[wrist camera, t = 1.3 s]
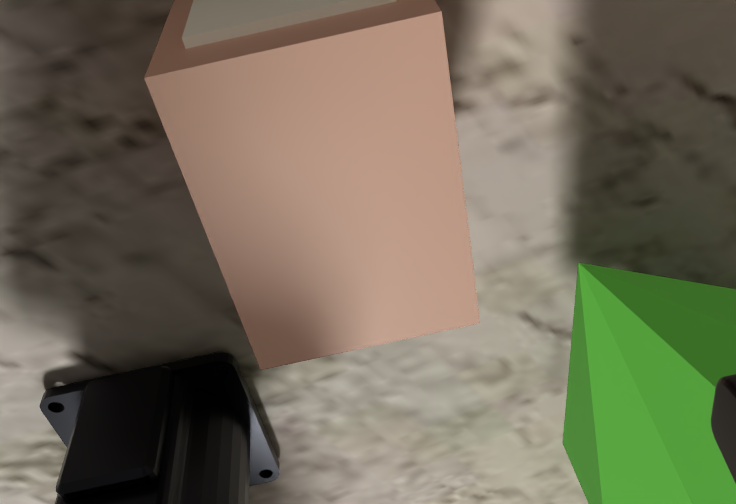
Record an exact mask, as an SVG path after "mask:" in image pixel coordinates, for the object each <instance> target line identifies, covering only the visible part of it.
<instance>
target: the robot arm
mask: <svg viewBox="0 0 736 504" xmlns="http://www.w3.org/2000/svg"><path fill="white" fill-rule="evenodd" d="M219 366H222V367H225V368H224V369H218V368H216V367H219ZM55 402H59V404H58V403H55ZM40 409H41V411H42V412H43V414H44V415H45V417H46V418H47V419H48V421H49V422H50V424H51V425H52V427H53V428H54V429H55V431H56V432H57V434H58V435H59V437H60V438H61V439H62V441H63V442H64V444H65V445H66V447H67V451H66V454H65V458H64V461H63V465H62V468H61V471H60V475H59V478H58V482H57V485H56V492H57V493H58V494H57V498H56V501H55V504H249V486H252V485H257V484H262V483H267V482H271V481H273V480H275V479H277V478H278V476H279V474H280V473H279V461H278V458H277V456H276V454H275V451H274V449H273V447H272V444H271V442H270V439H269V437H268V435H267V432H266V430H265V428H264V425H263V423H262V421H261V418H260V416H259V414H258V411H257V409H256V406H255V404H254V402H253V399H252V397H251V395H250V392H249V390H248V388H247V385H246V383H245V380H244V378H243V376H242V373H241V371H240V369H239V366H238V364H237V362H236V360H235V358H234V357H233V356H232V355H230V354H228V353H224V352H219V353H212V354H208V355H203V356H199V357H194V358H189V359H185V360H180V361H175V362H171V363H166V364H161V365H157V366H152V367H148V368H143V369H138V370H134V371H129V372H124V373H120V374H115V375H110V376H106V377H101V378H97V379H92V380H87V381H83V382H78V383H73V384H69V385H64V386H59V387H55V388H51V389H49V390H47V391H46V392H45V393H44V394H43V397H42V400H41V403H40ZM711 428H712V432H713V435H714V438H715V441H716V443H717V445H718V447H719V449H720V451H721V453H722V456H723V458H724V460H725V462H726V464H727V466H728V469H729V471H730V473H731V475H732V477H733V479H734V482H735V484H736V374H734V375H729V376H724V377H722V378H720V379H719V380H718V382H717V384H716V388H715V394H714V401H713V407H712V414H711Z"/></svg>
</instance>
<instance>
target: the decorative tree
mask: <svg viewBox="0 0 736 504" xmlns="http://www.w3.org/2000/svg"><path fill="white" fill-rule="evenodd" d="M734 374H736V289H731V288H725V287H719V286H714V285H708V284H702V283H696V282H690V281H684V280H678V279H673V278H667V277H661V276H655V275H649V274H643V273H637V272H631V271H626V270H620V269H614V268H608V267H602V266H596V265H590V264H585V263H579V262H578V272H577V283H576V295H575V306H574V318H573V330H572V341H571V353H570V364H569V376H568V387H567V399H566V411H565V422H564V434H563V445H564V447H565V450H566V452H567V454H568V457H569V459H570V461H571V464H572V466H573V468H574V471H575V473H576V475H577V478H578V480H579V482H580V485H581V487H582V489H583V492H584V494H585V496H586V499H587V501H588V503H589V504H736V484H735V482H734V479H733V477H732V475H731V473H730V471H729V469H728V466H727V464H726V462H725V460H724V458H723V456H722V453H721V451H720V449H719V447H718V445H717V443H716V441H715V438H714V435H713V432H712V428H711V414H712V407H713V401H714V394H715V388H716V384H717V382H718V380H719V379H720V378H722V377H724V376H729V375H734Z"/></svg>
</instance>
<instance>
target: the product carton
mask: <svg viewBox="0 0 736 504" xmlns="http://www.w3.org/2000/svg"><path fill="white" fill-rule="evenodd" d="M144 79H145V82H146V84H147V87H148V89H149V92H150V94H151V97H152V99H153V102H154V104H155V107H156V109H157V112H158V114H159V117H160V119H161V122H162V124H163V127H164V129H165V132H166V134H167V137H168V139H169V142H170V144H171V147H172V149H173V152H174V154H175V157H176V159H177V162H178V164H179V167H180V169H181V172H182V174H183V177H184V179H185V182H186V184H187V187H188V189H189V192H190V194H191V197H192V199H193V202H194V204H195V207H196V209H197V212H198V214H199V217H200V220H201V222H202V225H203V227H204V230H205V232H206V235H207V237H208V240H209V242H210V245H211V247H212V250H213V252H214V255H215V257H216V260H217V262H218V265H219V267H220V270H221V272H222V275H223V277H224V280H225V282H226V285H227V287H228V290H229V292H230V295H231V297H232V300H233V302H234V305H235V307H236V310H237V312H238V315H239V317H240V320H241V322H242V325H243V327H244V330H245V332H246V335H247V337H248V340H249V342H250V345H251V347H252V350H253V352H254V355H255V357H256V360H257V362H258V365H259V367H260V370H264V369H268V368H273V367H278V366H282V365H287V364H292V363H296V362H301V361H306V360H310V359H315V358H320V357H324V356H329V355H334V354H338V353H343V352H348V351H352V350H357V349H362V348H366V347H371V346H376V345H380V344H385V343H390V342H394V341H399V340H404V339H408V338H413V337H418V336H422V335H427V334H432V333H436V332H441V331H446V330H450V329H455V328H460V327H464V326H469V325H474V324H478V323H480V317H479V309H478V301H477V293H476V285H475V277H474V268H473V260H472V252H471V244H470V236H469V228H468V220H467V212H466V204H465V196H464V188H463V180H462V171H461V163H460V155H459V147H458V139H457V131H456V123H455V115H454V107H453V99H452V91H451V82H450V74H449V66H448V58H447V50H446V42H445V34H444V26H443V18H442V11H441V9H440V8H439V6H438V5H437V3H436V1H435V0H174V2H173V5H172V7H171V10H170V12H169V15H168V17H167V20H166V23H165V25H164V28H163V30H162V33H161V36H160V38H159V41H158V43H157V46H156V48H155V51H154V54H153V56H152V59H151V61H150V64H149V67H148V69H147V72H146V74H145V77H144Z"/></svg>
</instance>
